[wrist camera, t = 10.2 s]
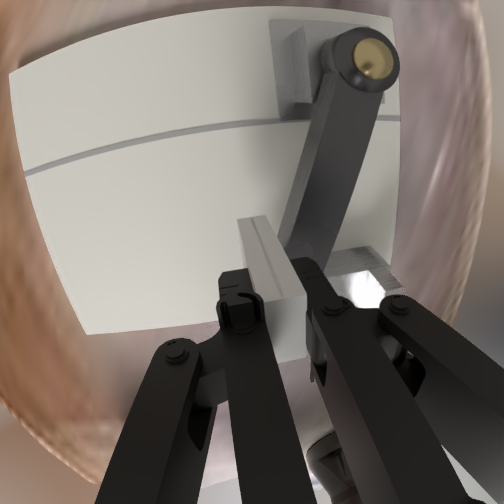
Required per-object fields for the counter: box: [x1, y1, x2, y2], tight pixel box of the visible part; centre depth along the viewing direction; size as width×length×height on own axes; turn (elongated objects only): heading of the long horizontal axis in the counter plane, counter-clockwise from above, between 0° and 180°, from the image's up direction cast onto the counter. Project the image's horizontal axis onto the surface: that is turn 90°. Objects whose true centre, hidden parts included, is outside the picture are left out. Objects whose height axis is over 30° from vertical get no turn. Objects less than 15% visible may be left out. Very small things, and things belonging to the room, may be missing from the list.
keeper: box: [323, 245, 403, 308], centre depth 19 cm, size 4×5×5 cm
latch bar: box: [277, 27, 400, 272], centre depth 13 cm, size 16×3×2 cm, turn 166°
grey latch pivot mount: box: [268, 19, 385, 121], centre depth 13 cm, size 6×6×3 cm
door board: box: [9, 6, 401, 335], centre depth 17 cm, size 20×24×1 cm
